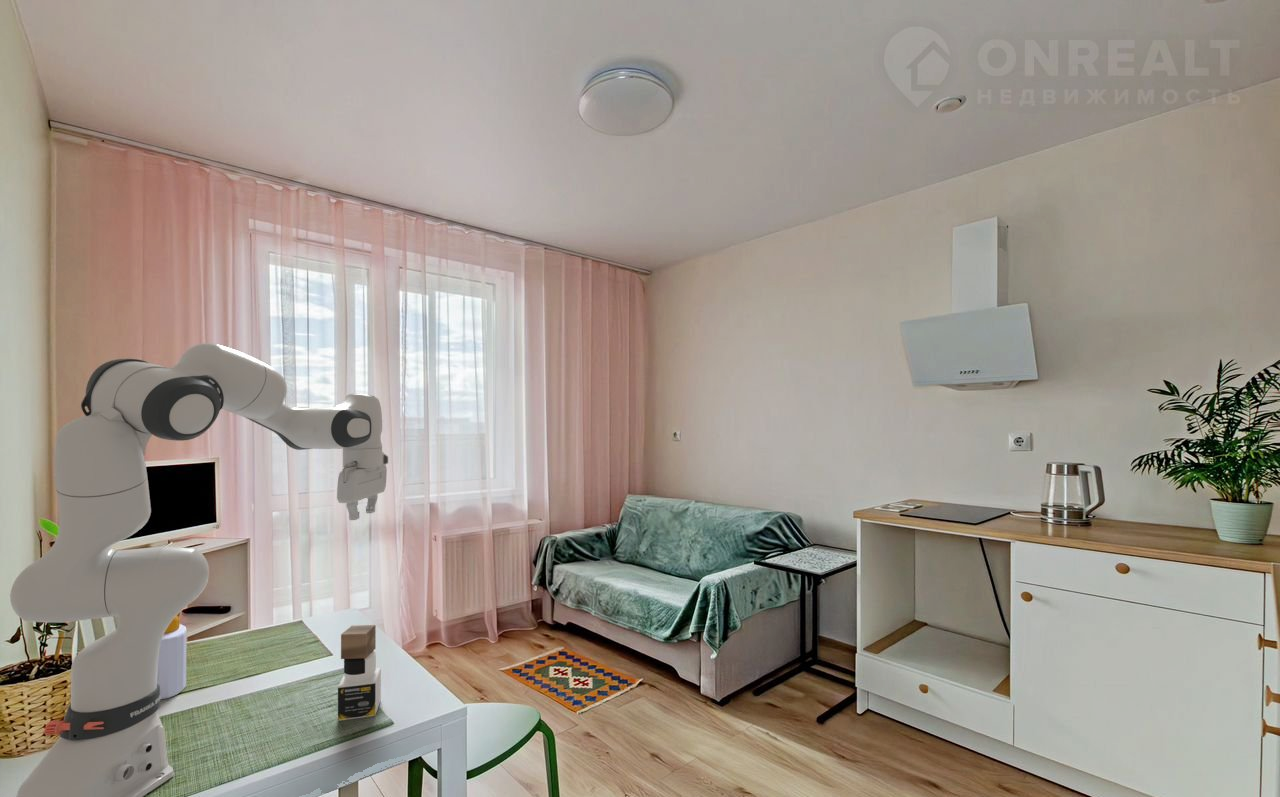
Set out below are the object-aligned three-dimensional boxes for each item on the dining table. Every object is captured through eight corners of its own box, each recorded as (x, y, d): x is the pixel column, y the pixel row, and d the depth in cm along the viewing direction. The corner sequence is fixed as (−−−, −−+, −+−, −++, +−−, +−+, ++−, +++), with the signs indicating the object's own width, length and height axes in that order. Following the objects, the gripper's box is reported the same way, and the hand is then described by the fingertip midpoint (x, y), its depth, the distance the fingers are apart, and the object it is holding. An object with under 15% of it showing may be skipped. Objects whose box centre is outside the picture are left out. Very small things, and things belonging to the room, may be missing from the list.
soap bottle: (191, 692, 132) (192, 601, 132) (143, 705, 126) (144, 610, 126) (180, 674, 141) (181, 589, 141) (135, 686, 135) (136, 597, 135)
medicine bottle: (337, 721, 119) (337, 661, 119) (345, 704, 125) (345, 648, 126) (375, 716, 120) (375, 657, 121) (381, 700, 127) (381, 644, 128)
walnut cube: (365, 658, 121) (365, 633, 121) (340, 659, 120) (341, 634, 120) (375, 648, 126) (375, 624, 126) (351, 649, 125) (351, 625, 125)
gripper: (357, 463, 134) (357, 524, 134) (391, 456, 154) (391, 509, 154) (329, 463, 134) (329, 524, 133) (366, 456, 154) (366, 509, 154)
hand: (362, 516), depth 144 cm, fingers open, 8 cm apart
